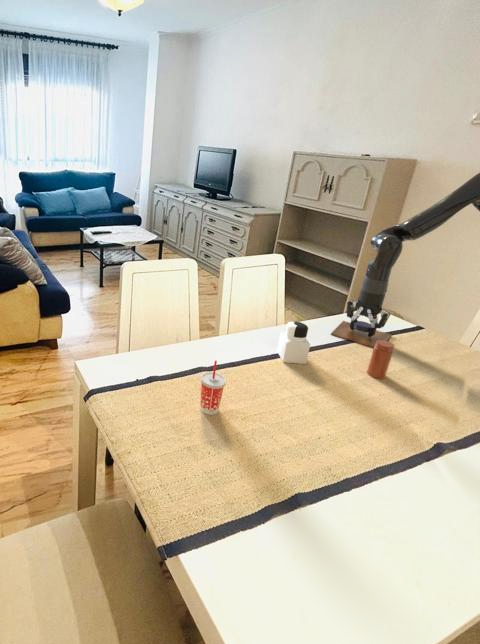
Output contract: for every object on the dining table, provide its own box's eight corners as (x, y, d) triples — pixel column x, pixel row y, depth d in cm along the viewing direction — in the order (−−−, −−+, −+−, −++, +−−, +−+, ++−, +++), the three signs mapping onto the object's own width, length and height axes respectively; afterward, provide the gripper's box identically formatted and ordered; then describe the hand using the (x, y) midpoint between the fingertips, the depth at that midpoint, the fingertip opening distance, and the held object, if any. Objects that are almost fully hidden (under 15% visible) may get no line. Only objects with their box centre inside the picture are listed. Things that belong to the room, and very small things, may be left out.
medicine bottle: (298, 353, 127) (305, 320, 123) (306, 364, 120) (314, 330, 116) (276, 351, 127) (282, 318, 123) (282, 362, 121) (289, 328, 117)
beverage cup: (221, 404, 100) (228, 357, 95) (221, 419, 94) (228, 369, 90) (198, 399, 101) (203, 352, 97) (196, 413, 96) (202, 365, 91)
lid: (350, 327, 141) (351, 322, 140) (358, 324, 144) (359, 319, 143) (366, 333, 136) (367, 328, 136) (374, 330, 139) (375, 325, 139)
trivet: (390, 335, 142) (390, 334, 141) (381, 350, 131) (381, 349, 130) (342, 322, 152) (343, 320, 152) (330, 334, 141) (330, 333, 140)
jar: (385, 373, 117) (394, 342, 113) (385, 380, 113) (395, 349, 109) (366, 368, 119) (375, 338, 116) (366, 375, 115) (375, 344, 112)
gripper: (347, 285, 139) (336, 327, 144) (390, 298, 127) (376, 343, 133) (358, 282, 142) (347, 323, 148) (401, 294, 131) (387, 338, 137)
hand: (361, 332), depth 141 cm, fingers closed on lid, 5 cm apart
